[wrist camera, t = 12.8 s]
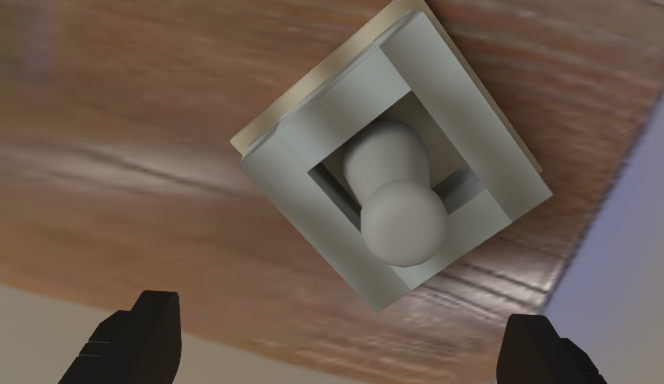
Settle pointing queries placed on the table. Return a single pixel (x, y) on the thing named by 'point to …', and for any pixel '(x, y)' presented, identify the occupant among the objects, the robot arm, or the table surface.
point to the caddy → (398, 106)
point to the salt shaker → (395, 194)
